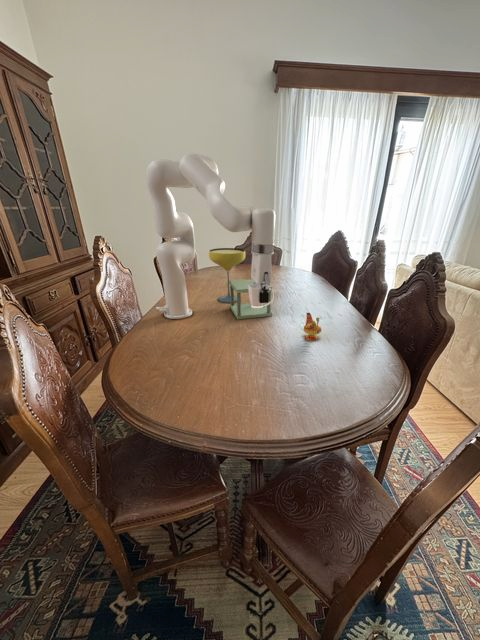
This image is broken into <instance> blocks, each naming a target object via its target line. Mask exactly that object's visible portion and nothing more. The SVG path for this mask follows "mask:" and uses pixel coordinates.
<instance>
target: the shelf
mask: <svg viewBox="0 0 480 640" xmlns="http://www.w3.org/2000/svg"><path fill="white" fill-rule="evenodd" d="M262 283H265V282H262ZM250 284H254V281H253V280H252V278H251V279H250V278H249V279H233V280H229V291H230V296H231V303H230V305H229V308H230V310H231V311H232V313H233V314H234V316H235V318H236V319H237V320H243V319H246V320H247V319H253V318H254V319H255V318H265V317H266V318H267V317H272V312H271V309H272V308H271V305H272V303H270V304H269V305H268V306H266V307H262V309H253V308H251V303H250V302H248V303H247V302H246V303H242V301H241V300H242V298H241V297H242V296H241V294H244V293H249V291H248V286H249V285H250ZM269 288H270V289H272V290H273V287H272V285H270V287H269ZM272 290H269V297H268V303H269V302H271V301H272ZM235 293H236V297H237V302H236V304H235V302H234V296H235ZM268 303H266V304H268ZM264 305H265V304H263V305H262V306H264Z"/></svg>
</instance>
